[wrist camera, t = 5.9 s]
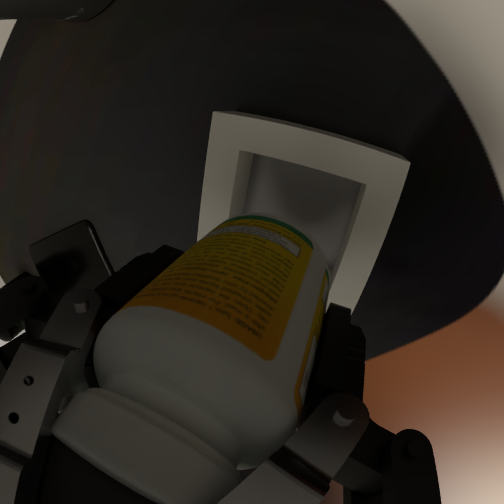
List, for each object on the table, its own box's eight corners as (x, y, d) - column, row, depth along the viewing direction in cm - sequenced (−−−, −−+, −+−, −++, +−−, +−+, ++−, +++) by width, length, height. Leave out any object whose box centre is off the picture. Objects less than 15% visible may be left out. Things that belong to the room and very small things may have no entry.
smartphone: (93, 215, 24) (31, 244, 31) (86, 218, 24) (26, 247, 30) (126, 289, 27) (55, 296, 33) (121, 294, 26) (51, 299, 33)
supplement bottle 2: (352, 301, 11) (305, 556, 3) (247, 335, 14) (147, 513, 6) (287, 182, 10) (70, 421, 2) (183, 241, 13) (8, 398, 5)
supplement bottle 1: (27, 298, 37) (-21, 338, 27) (18, 264, 34) (-37, 304, 24) (51, 317, 36) (0, 363, 26) (42, 283, 33) (-18, 330, 23)
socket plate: (234, 111, 16) (213, 111, 14) (400, 154, 14) (410, 162, 12) (213, 252, 21) (194, 273, 19) (348, 296, 19) (346, 324, 17)
